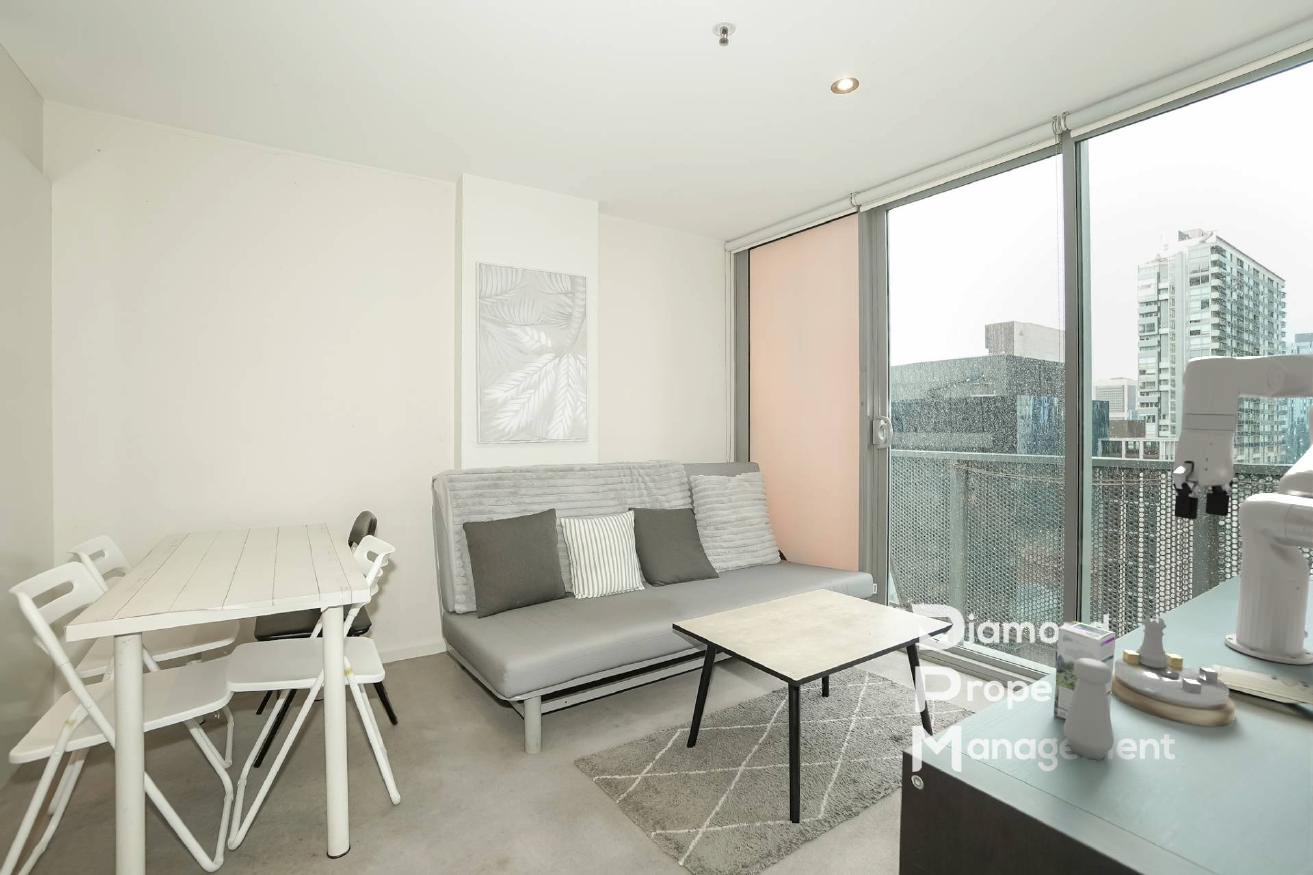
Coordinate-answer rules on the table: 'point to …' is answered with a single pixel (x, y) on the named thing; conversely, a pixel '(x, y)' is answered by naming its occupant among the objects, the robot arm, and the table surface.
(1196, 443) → the robot arm
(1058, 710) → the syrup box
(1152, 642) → the rook chess piece
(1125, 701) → the tan flat disc
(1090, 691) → the salt shaker
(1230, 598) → the table surface
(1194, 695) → the white round board
